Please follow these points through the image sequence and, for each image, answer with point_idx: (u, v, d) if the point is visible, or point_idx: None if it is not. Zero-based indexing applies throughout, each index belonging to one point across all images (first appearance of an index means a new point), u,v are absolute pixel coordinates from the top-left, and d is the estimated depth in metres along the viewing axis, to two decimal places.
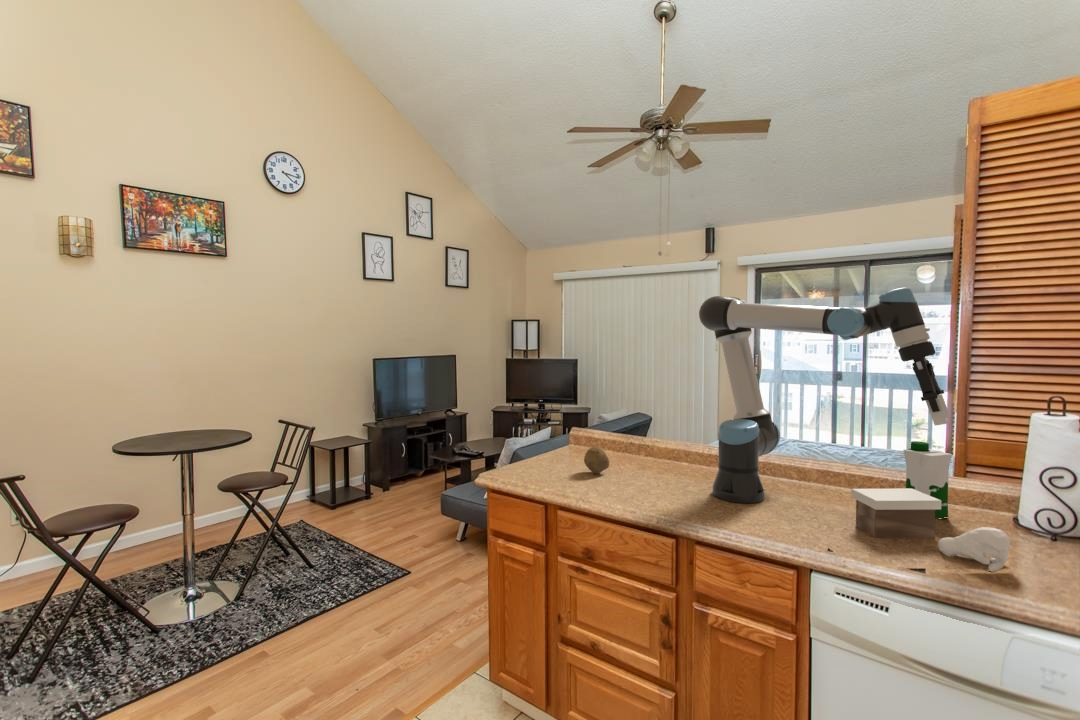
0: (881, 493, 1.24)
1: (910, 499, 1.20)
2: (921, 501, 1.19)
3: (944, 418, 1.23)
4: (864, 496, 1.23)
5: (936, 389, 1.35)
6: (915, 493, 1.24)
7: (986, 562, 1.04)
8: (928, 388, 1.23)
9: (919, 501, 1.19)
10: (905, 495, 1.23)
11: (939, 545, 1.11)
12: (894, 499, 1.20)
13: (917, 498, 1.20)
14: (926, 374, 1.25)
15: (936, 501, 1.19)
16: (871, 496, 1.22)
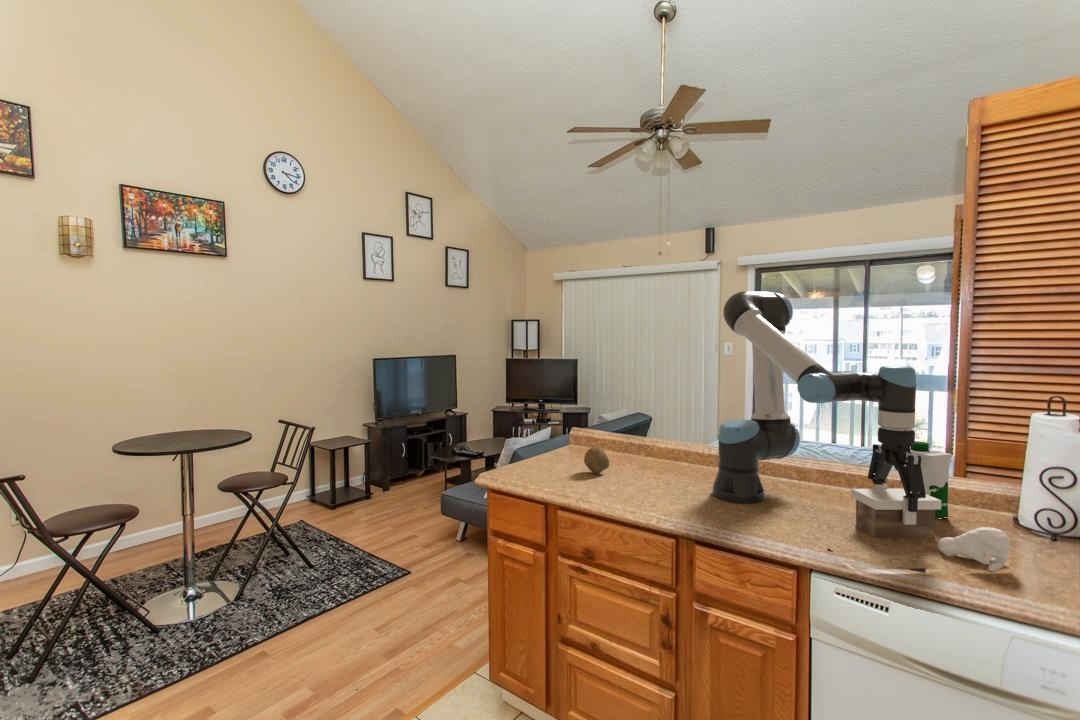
0: (881, 493, 1.24)
1: None
2: (921, 501, 1.19)
3: (914, 519, 1.18)
4: (864, 496, 1.23)
5: (884, 478, 1.28)
6: None
7: (986, 562, 1.04)
8: (920, 489, 1.15)
9: (919, 501, 1.19)
10: (905, 495, 1.23)
11: (939, 545, 1.11)
12: (894, 499, 1.20)
13: None
14: (920, 472, 1.16)
15: (936, 501, 1.19)
16: (871, 496, 1.22)
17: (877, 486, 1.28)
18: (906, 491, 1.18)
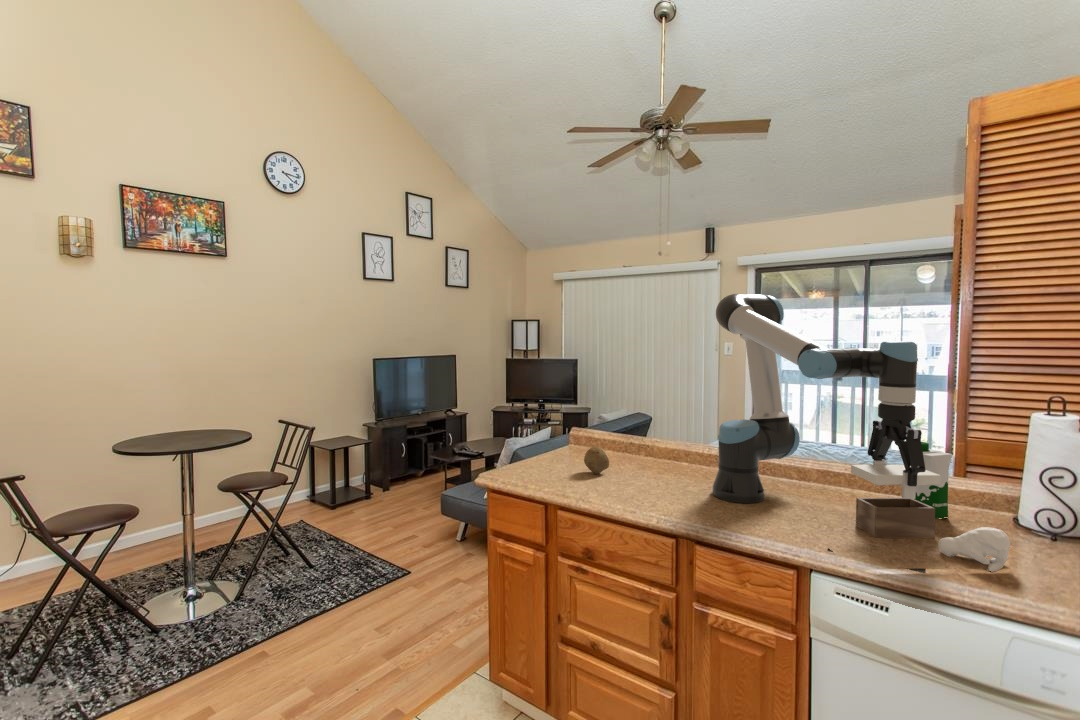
0: (881, 469, 1.24)
1: None
2: (920, 476, 1.19)
3: (914, 493, 1.18)
4: (864, 471, 1.23)
5: (884, 454, 1.28)
6: None
7: (986, 562, 1.04)
8: (920, 463, 1.15)
9: (918, 476, 1.19)
10: None
11: (939, 545, 1.11)
12: (894, 474, 1.20)
13: None
14: (920, 446, 1.16)
15: (936, 476, 1.19)
16: (871, 471, 1.22)
17: (877, 462, 1.28)
18: (906, 466, 1.18)
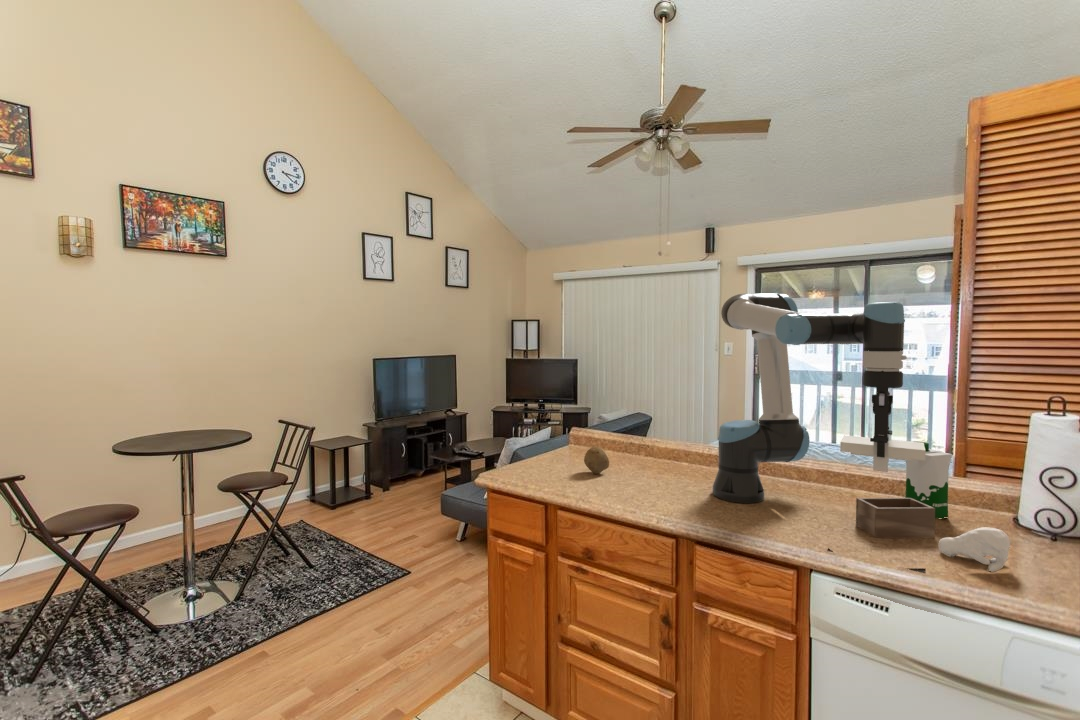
0: (867, 440, 1.16)
1: None
2: (898, 448, 1.08)
3: (886, 466, 1.09)
4: (842, 440, 1.18)
5: None
6: (912, 444, 1.11)
7: (986, 562, 1.04)
8: (882, 431, 1.07)
9: (895, 448, 1.09)
10: (892, 443, 1.12)
11: (939, 545, 1.11)
12: (866, 443, 1.12)
13: (899, 446, 1.09)
14: (886, 414, 1.07)
15: (918, 450, 1.06)
16: (846, 440, 1.17)
17: None
18: None
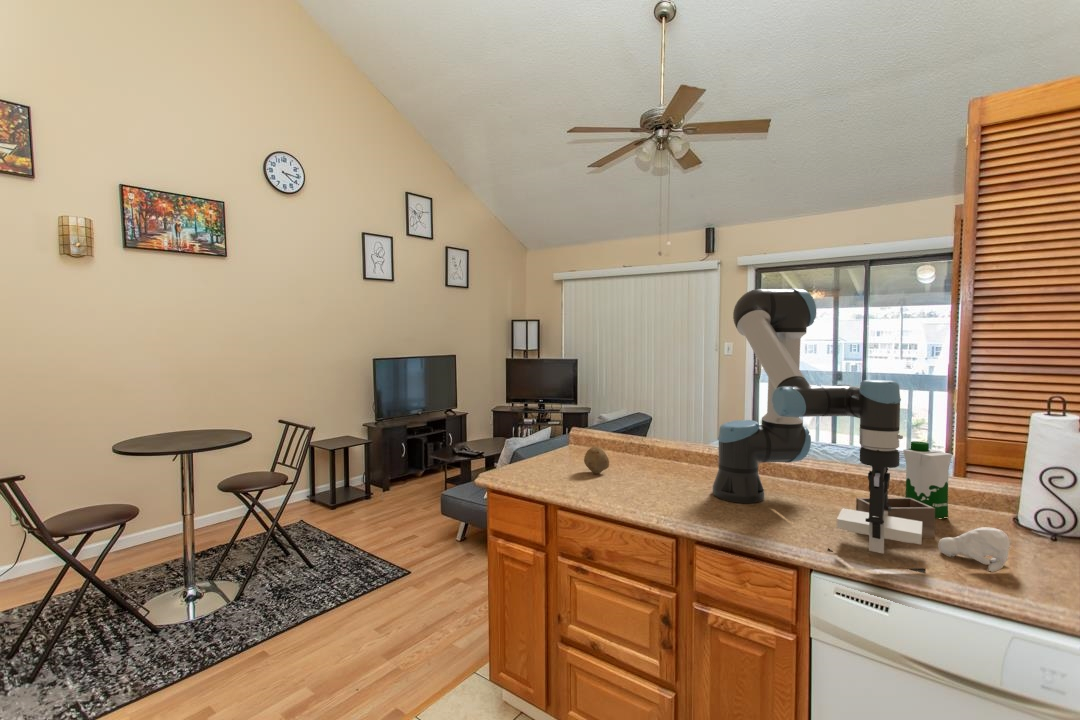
0: (864, 516, 1.16)
1: None
2: (894, 530, 1.08)
3: (882, 547, 1.08)
4: (839, 515, 1.18)
5: (884, 503, 1.16)
6: (909, 524, 1.10)
7: (986, 562, 1.04)
8: (877, 513, 1.07)
9: (891, 529, 1.08)
10: (889, 523, 1.11)
11: (939, 545, 1.11)
12: (863, 522, 1.12)
13: (895, 527, 1.09)
14: (881, 496, 1.07)
15: (914, 534, 1.05)
16: (843, 516, 1.16)
17: None
18: None
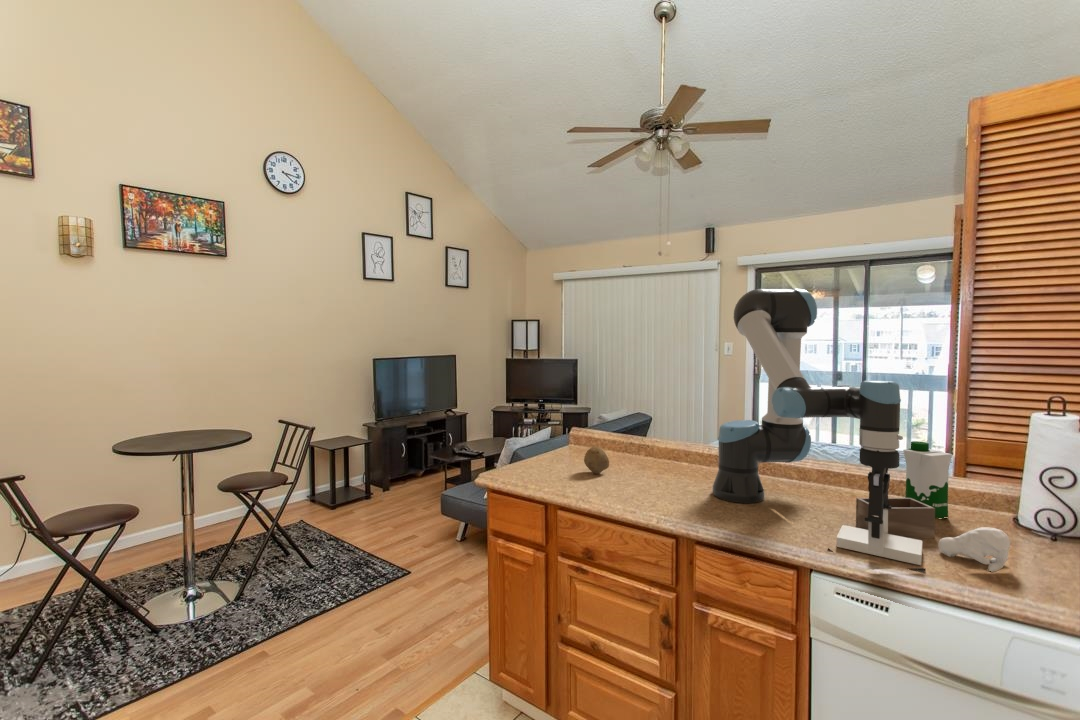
0: (864, 534, 1.16)
1: None
2: (893, 550, 1.08)
3: (881, 547, 1.07)
4: (839, 532, 1.18)
5: (884, 502, 1.17)
6: (909, 544, 1.10)
7: (986, 562, 1.04)
8: (876, 512, 1.06)
9: (891, 549, 1.08)
10: (889, 542, 1.11)
11: (939, 545, 1.11)
12: (862, 541, 1.12)
13: (895, 547, 1.09)
14: (880, 495, 1.06)
15: (914, 555, 1.05)
16: (843, 533, 1.16)
17: None
18: None
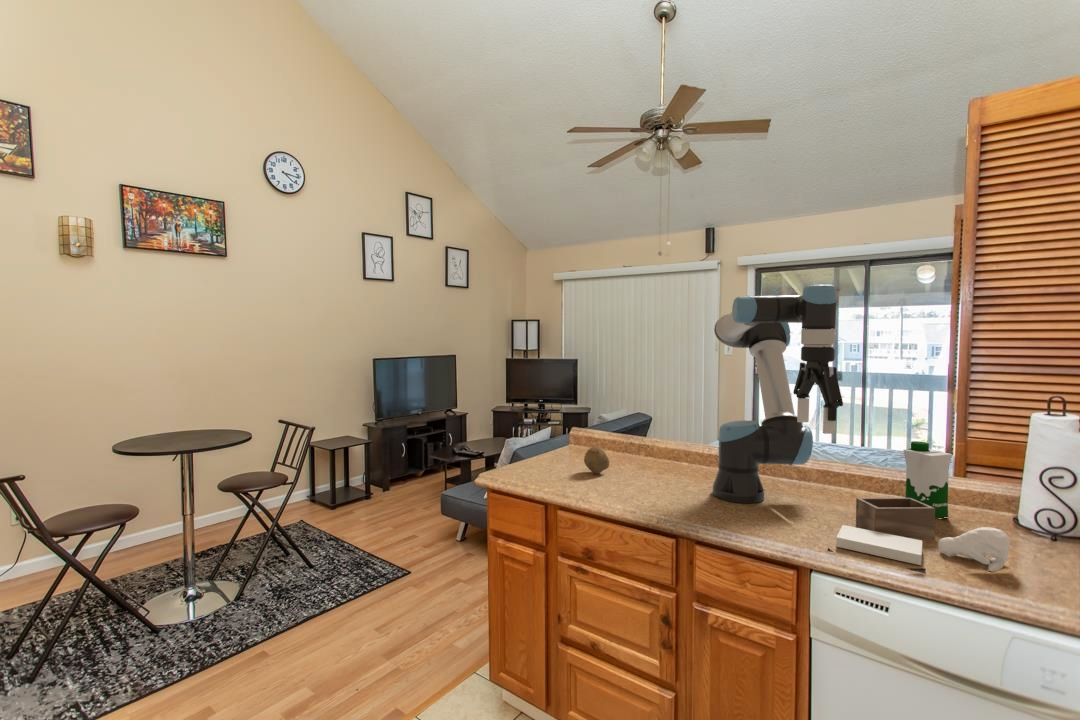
0: (864, 534, 1.16)
1: (882, 545, 1.09)
2: (893, 550, 1.08)
3: (834, 428, 1.21)
4: (839, 532, 1.18)
5: (807, 393, 1.33)
6: (909, 544, 1.10)
7: (986, 562, 1.04)
8: (837, 397, 1.18)
9: (891, 549, 1.08)
10: (889, 542, 1.11)
11: (939, 545, 1.11)
12: (862, 541, 1.12)
13: (895, 547, 1.09)
14: (836, 382, 1.19)
15: (914, 555, 1.05)
16: (843, 533, 1.16)
17: (800, 400, 1.34)
18: (826, 401, 1.20)
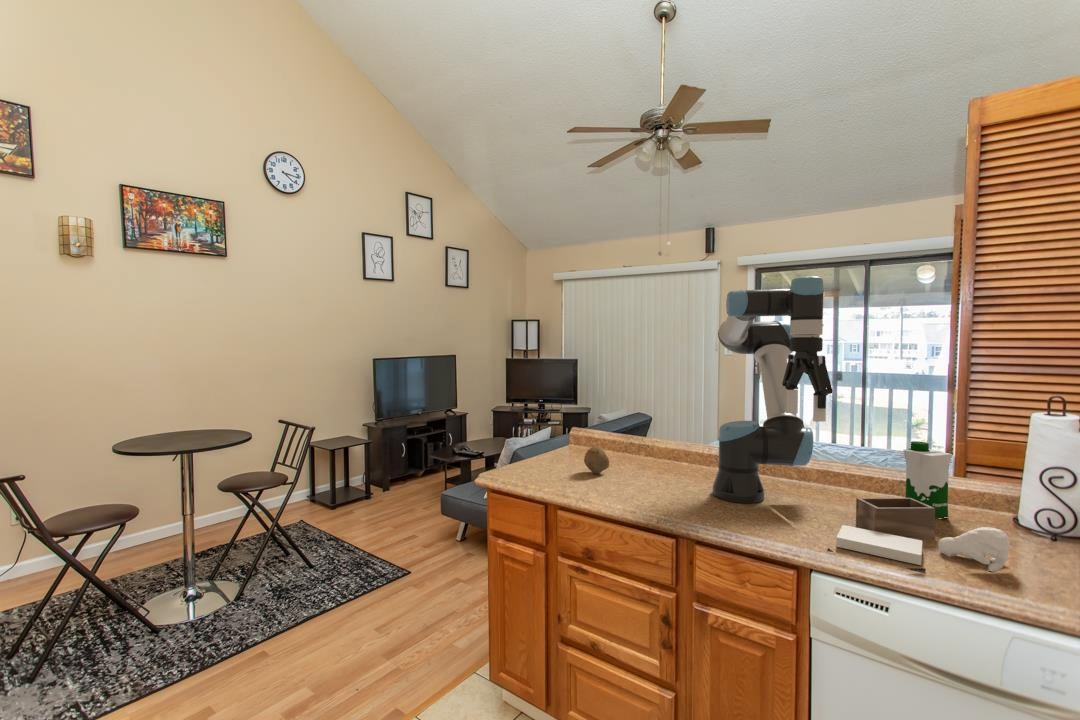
0: (864, 534, 1.16)
1: (882, 545, 1.09)
2: (893, 550, 1.08)
3: (824, 416, 1.23)
4: (839, 532, 1.18)
5: (796, 384, 1.36)
6: (909, 544, 1.10)
7: (986, 562, 1.04)
8: (827, 384, 1.20)
9: (891, 549, 1.08)
10: (889, 542, 1.11)
11: (939, 545, 1.11)
12: (862, 541, 1.12)
13: (895, 547, 1.09)
14: (825, 370, 1.22)
15: (914, 555, 1.05)
16: (843, 533, 1.16)
17: (789, 391, 1.36)
18: (815, 389, 1.22)
